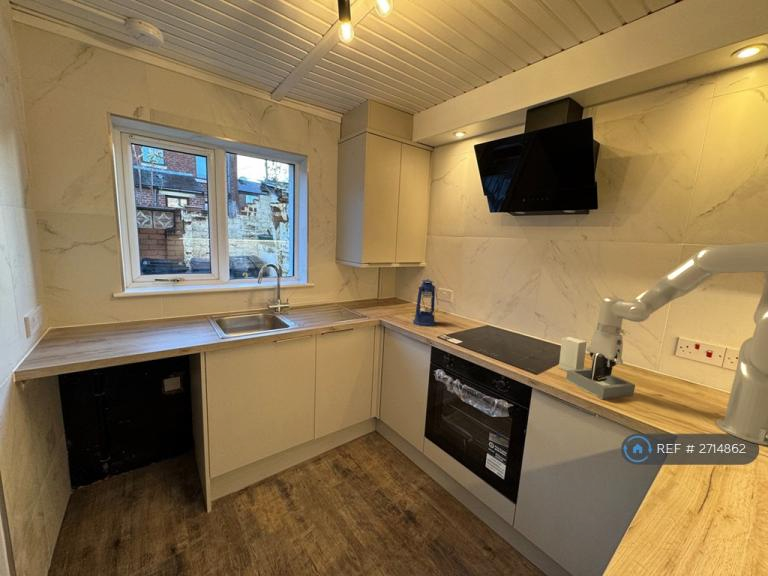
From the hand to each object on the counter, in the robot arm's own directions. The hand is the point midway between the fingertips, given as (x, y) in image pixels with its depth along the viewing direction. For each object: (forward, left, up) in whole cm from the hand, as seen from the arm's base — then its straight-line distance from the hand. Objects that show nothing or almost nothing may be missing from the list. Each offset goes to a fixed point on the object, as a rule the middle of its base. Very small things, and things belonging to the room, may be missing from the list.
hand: (600, 372), depth 123 cm
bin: (0, 0, -7) cm, 7 cm away
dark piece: (0, 0, -4) cm, 4 cm away
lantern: (+98, +33, -7) cm, 104 cm away
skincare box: (+16, -3, -7) cm, 18 cm away
